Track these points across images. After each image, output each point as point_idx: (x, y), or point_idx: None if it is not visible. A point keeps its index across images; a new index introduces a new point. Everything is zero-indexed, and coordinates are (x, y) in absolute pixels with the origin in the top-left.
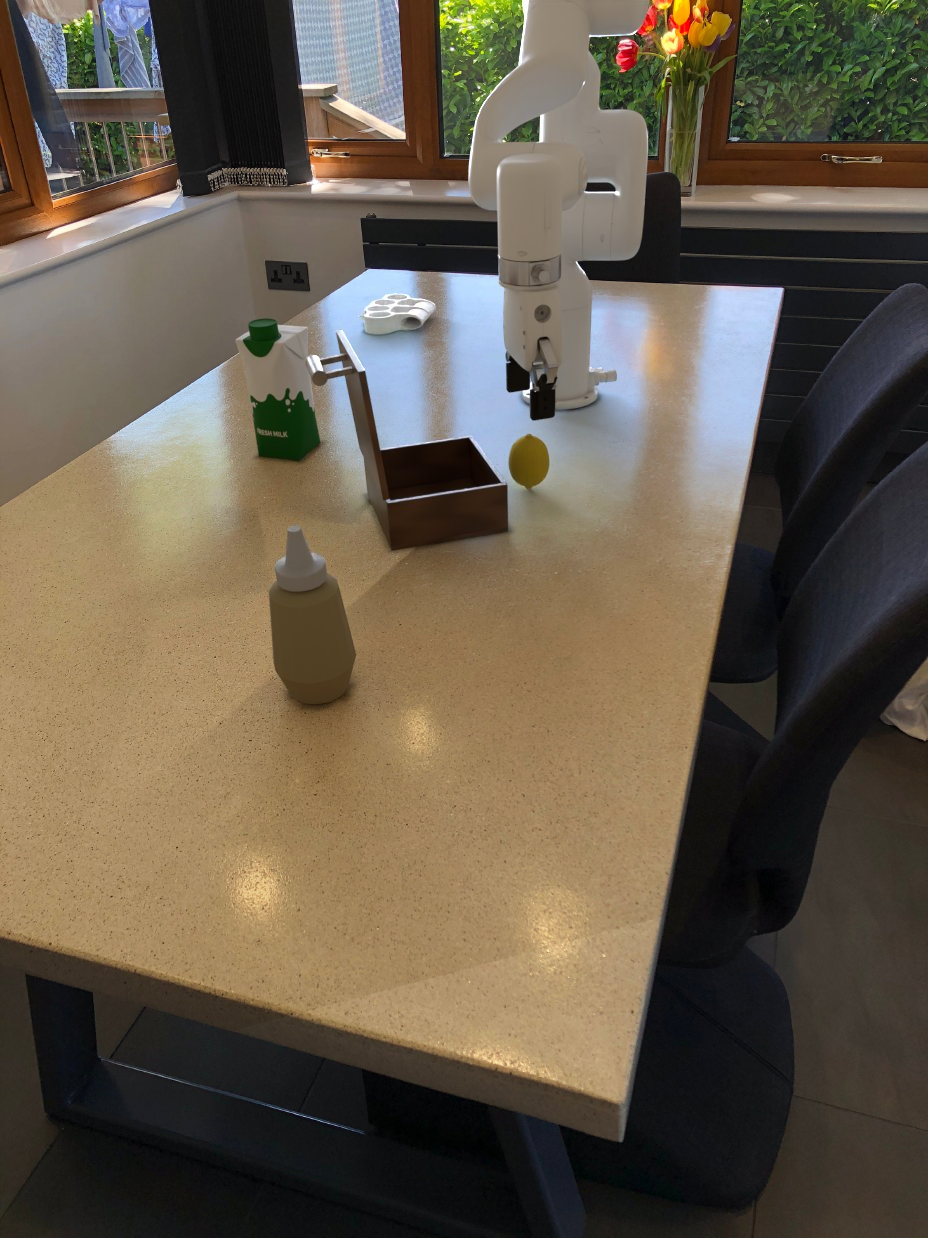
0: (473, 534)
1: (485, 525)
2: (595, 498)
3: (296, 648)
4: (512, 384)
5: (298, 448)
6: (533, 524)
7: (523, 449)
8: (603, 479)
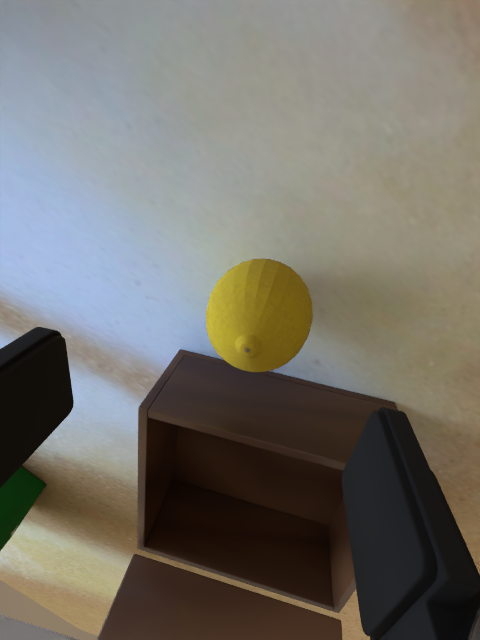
0: None
1: None
2: (403, 179)
3: None
4: (49, 419)
5: (31, 499)
6: (404, 357)
7: (278, 366)
8: (325, 89)
